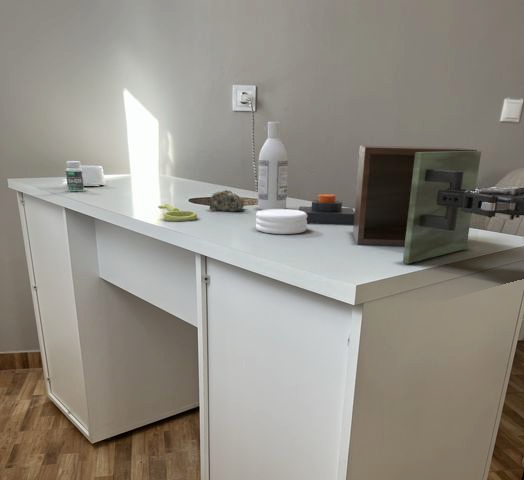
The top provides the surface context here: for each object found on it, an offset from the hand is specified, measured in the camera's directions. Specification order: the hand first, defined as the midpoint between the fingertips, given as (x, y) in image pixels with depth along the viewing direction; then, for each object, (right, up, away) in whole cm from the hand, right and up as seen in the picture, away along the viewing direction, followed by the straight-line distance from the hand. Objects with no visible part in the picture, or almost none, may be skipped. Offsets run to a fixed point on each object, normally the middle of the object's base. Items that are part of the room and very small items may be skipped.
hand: (442, 196), depth 79 cm
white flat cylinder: (-22, +2, +30) cm, 37 cm away
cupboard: (0, -2, +23) cm, 23 cm away
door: (+4, -7, +8) cm, 12 cm away
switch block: (-12, +7, +43) cm, 45 cm away
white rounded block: (-83, +32, +104) cm, 137 cm away
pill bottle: (-82, +26, +88) cm, 123 cm away
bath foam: (-23, +13, +58) cm, 64 cm away
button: (-12, +10, +42) cm, 45 cm away
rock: (-34, +12, +55) cm, 66 cm away
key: (-45, +7, +43) cm, 63 cm away
